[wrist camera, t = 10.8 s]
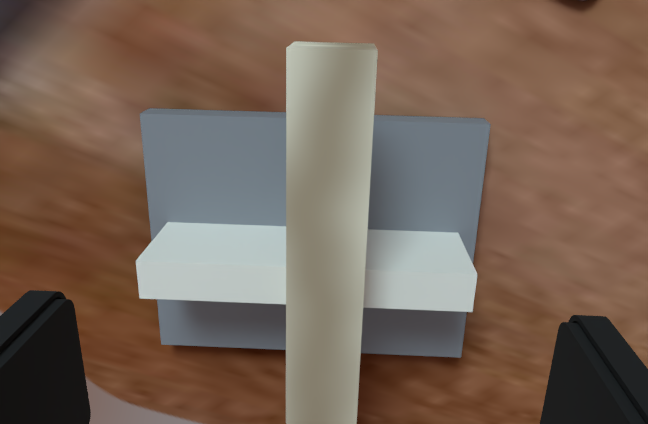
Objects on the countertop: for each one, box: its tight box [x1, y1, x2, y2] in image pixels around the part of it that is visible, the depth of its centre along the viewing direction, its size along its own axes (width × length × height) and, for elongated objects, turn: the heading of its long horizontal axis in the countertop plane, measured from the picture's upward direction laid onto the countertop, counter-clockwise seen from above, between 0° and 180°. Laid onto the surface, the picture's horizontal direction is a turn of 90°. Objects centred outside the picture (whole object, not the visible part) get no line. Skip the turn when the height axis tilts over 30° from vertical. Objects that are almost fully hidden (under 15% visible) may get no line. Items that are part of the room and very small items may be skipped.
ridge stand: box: [136, 108, 490, 358], centre depth 30 cm, size 18×14×6 cm
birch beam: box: [286, 42, 378, 424], centre depth 25 cm, size 3×22×3 cm, turn 178°
